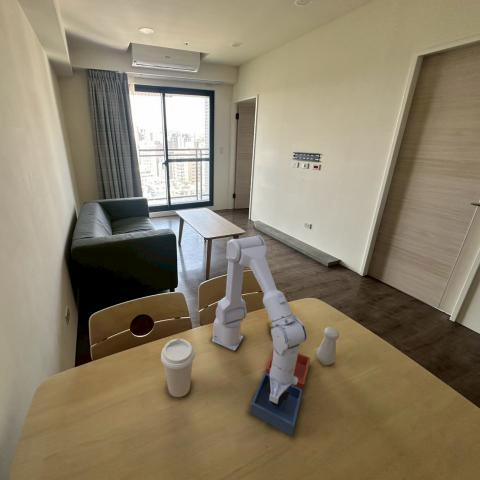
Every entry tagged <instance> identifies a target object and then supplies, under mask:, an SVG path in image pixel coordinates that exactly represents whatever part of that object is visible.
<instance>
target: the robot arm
mask: <svg viewBox="0 0 480 480" xmlns="http://www.w3.org/2000/svg"><path fill="white" fill-rule="evenodd" d="M267 254H268V247H267V245H266V241H265V239H264V237H262V236H261V235H259V234H256V235H254V236H248V237H241V238H233V239H232V238H231V239H230V240H228V241H226V254H225V255H226V256H225V259H226V260H227V273H226V285H225V286H226V287H225V295H224V297H223V298H221V299H220V300H219V301H218V302H217V306H216V308H215V316H216V317H215V319H214V321H213V325H212V338H211V341H212V343H215V344H218V345H220V346H223V347H225V348H227V349H229V350H232V351H233V352H235V351H236V350H237V349H238V347H239V346H240V345H241V342H242V340H243V339H244V336H243V334H241V325H242V324H241V323H243V320H244V319H246V318H247V315H248V310H247V303H246V301H245V300H244V299H243V298H242V291H243V282H244V281H243V280H244V273H245V268H249V269H250V270H251V271H252V273H253V276H254V277H255V279H256V281H257V283H258V285H259V287H260V290H261V291H262V293H263V298H262V303H263V306H264V309H265V311H266V313H267V315H268V318H270V320H271V323H272V325H273V329H271V333H270V334H271V338H272V347H273V351H274V353H273V352H272V353H273V359H272V366H271V369H270V382H269V381H268V383H267V385H266V391H267V392H268V393H269V395H270V398H269V400H270V401H271V404H272V405H274V406H276V407H278V408H279V407H280V405H281V403H282V402H283V401H284V400H286V399H287V398H288V395H289V392H288V391H285V390H286V389H287V388H288V387H289V386H290V385H291V384H293V385H296V384H297V381H298V378H297V377H295V376H294V374H295V373H294V371H295V366H296V361H297V356H298V353H299V350H300V347H301V344H302V343H304V342H306V341H307V338H308V333H307V329H306V327H305V324H304V323H303V322H302V321H301V320H300V319H299V318H298V316H297V315H296V314H294V313H293V310H292V309H291V306H290V304H289V302H288V300H287V298H286V296H285V293H284V292H282V291H280V290H278V288H277V286H276V283H275V280H274V277H273V275H272V272H271V269H270V266H269V263H268V261H267V258H266V257H267Z"/></svg>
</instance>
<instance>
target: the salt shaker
mask: <svg viewBox="0 0 480 480" xmlns="http://www.w3.org/2000/svg"><path fill="white" fill-rule="evenodd" d="M323 335H324V338H323V340H322V341H321V343H320V345H319V347H318V348H317V350H316V358H317V360H318V361H319V362H320V364H321V365H324V366H326V367H327V366H330V365H331V364H333V363H335V361H336V359H337V340H338V339H339V338H340V333H339V331H338V329H336V328H334V327H332V326H331V327H330V326H329V327H326V328H324V331H323Z"/></svg>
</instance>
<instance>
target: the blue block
mask: <svg viewBox="0 0 480 480" xmlns="http://www.w3.org/2000/svg"><path fill="white" fill-rule="evenodd" d="M285 391H288V388H287V389H286V390H285ZM269 398H270V395H269ZM285 401H286V400H284V401H283V402H282V403H281V405H280V407H279V408H278V407H276V406H274V405H272V404H271V401H270V400H268V404H269V405H271V406H273V407H275V408H277V409H279V410H281V411H283V408H284V404H285Z"/></svg>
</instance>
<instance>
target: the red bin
mask: <svg viewBox="0 0 480 480" xmlns="http://www.w3.org/2000/svg"><path fill="white" fill-rule="evenodd" d="M273 353H274V350H273V351H272V353H271V356H270V358H269V361H268V363H267V365H266V369H265V373H267V374H269V375H270V369H271V366H272V359H273ZM297 357H298V358H297V363H296V368H295V372H294V373H295V374H294V376H295V377H297V378H298V381H297V384H296V385H293V384H291V385H293V386H296V387H298V388H300V389H302V390H303V391H304V387H305V382H306V378H307V375H308V370H309V367H310V363H311V357H310V356H307V355H305V354H302V353H299V352H298V356H297ZM303 391H302V393H303Z"/></svg>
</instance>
